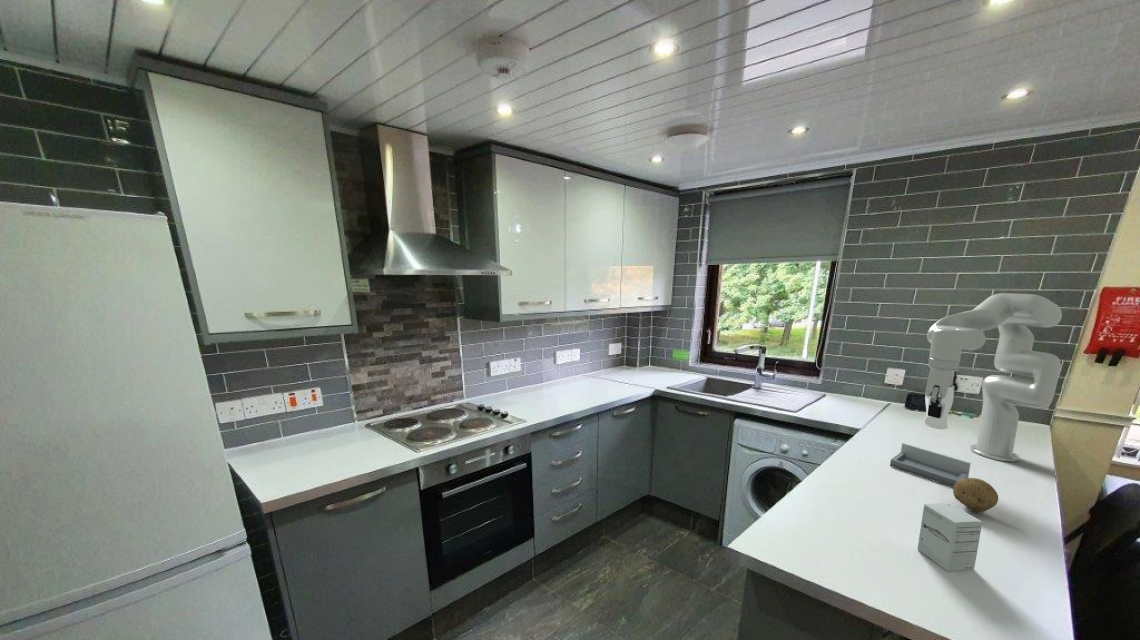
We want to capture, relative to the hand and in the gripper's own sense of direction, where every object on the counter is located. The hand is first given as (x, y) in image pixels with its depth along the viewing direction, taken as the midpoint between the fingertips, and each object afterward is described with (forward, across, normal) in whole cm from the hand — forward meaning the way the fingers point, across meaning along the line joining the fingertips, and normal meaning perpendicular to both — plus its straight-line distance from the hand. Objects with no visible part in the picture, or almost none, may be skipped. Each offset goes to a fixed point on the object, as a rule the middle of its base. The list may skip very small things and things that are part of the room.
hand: (936, 414), depth 131 cm
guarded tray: (+21, 0, 0) cm, 21 cm away
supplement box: (+21, +53, +15) cm, 59 cm away
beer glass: (+4, 0, 0) cm, 4 cm away
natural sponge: (+21, +19, +14) cm, 32 cm away
